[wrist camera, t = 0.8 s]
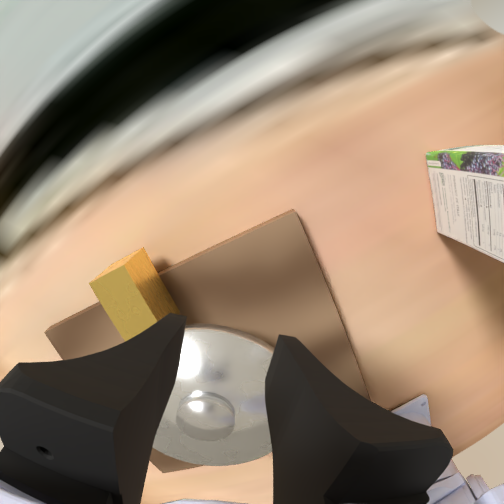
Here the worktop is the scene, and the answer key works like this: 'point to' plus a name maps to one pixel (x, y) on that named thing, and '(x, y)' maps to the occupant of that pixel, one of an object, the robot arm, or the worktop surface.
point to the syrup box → (470, 196)
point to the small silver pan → (195, 371)
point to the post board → (239, 303)
